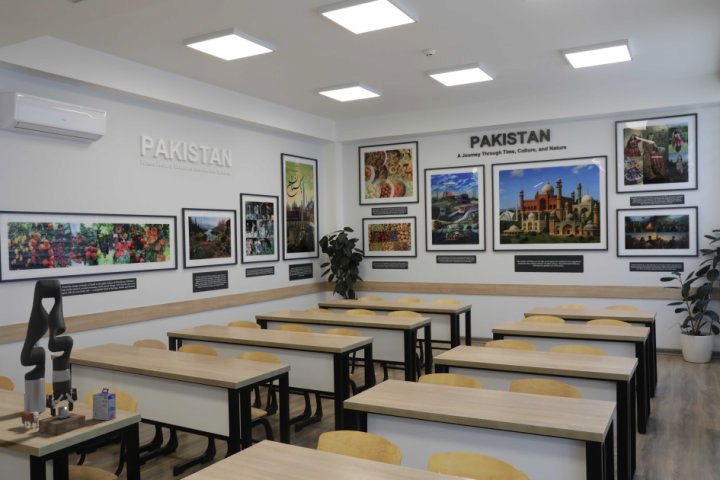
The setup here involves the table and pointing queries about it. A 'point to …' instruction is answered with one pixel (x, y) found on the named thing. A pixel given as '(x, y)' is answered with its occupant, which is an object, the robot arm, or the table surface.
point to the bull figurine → (30, 418)
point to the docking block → (62, 424)
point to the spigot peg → (62, 413)
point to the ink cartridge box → (104, 405)
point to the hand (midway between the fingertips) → (62, 413)
